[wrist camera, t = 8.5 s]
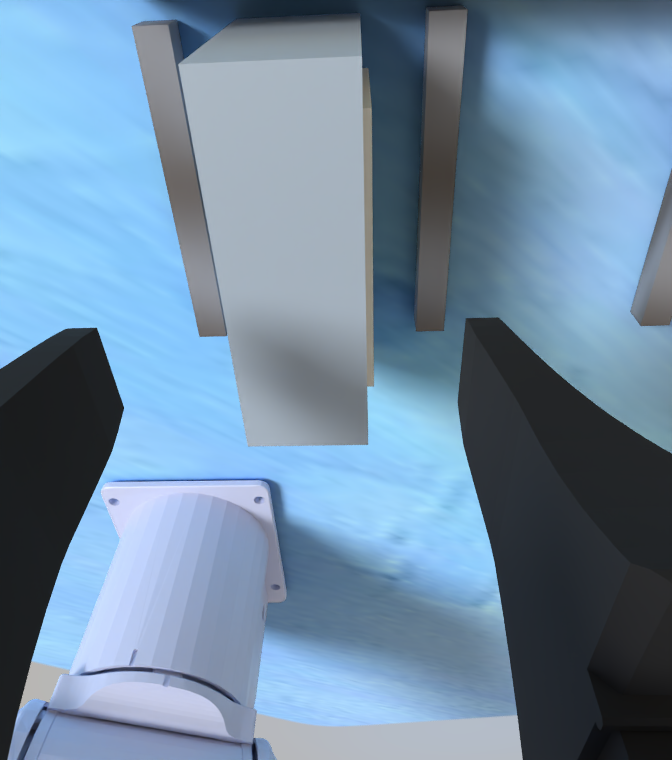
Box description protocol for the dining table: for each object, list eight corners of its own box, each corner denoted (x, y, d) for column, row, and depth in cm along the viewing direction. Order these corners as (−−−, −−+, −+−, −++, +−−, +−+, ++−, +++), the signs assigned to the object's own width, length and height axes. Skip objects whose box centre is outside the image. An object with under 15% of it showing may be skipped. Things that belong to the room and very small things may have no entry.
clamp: (671, 310, 22) (720, 369, 19) (192, 322, 23) (168, 381, 20) (831, -161, 14) (954, -182, 11) (94, -115, 15) (31, -124, 12)
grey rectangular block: (370, 317, 23) (375, 444, 17) (274, 319, 23) (247, 446, 17) (367, 12, 17) (372, 55, 11) (236, 18, 17) (178, 64, 11)
